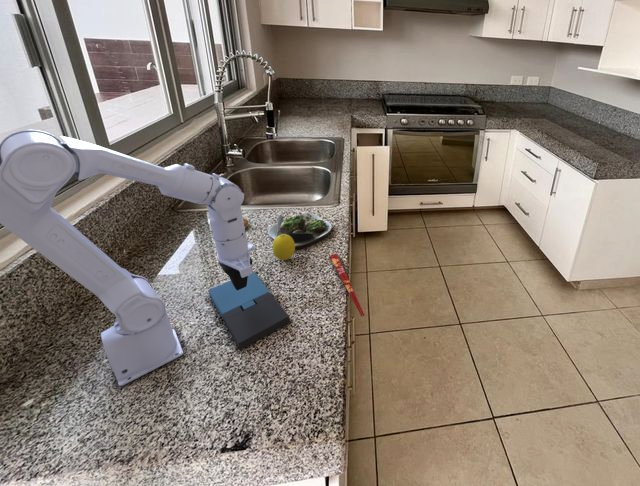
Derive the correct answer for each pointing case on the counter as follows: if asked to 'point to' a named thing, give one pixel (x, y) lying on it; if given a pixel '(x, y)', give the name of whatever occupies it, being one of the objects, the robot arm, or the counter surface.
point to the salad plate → (302, 229)
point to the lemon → (283, 247)
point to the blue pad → (237, 294)
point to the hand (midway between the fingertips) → (240, 286)
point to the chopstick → (345, 280)
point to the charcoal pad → (255, 320)
